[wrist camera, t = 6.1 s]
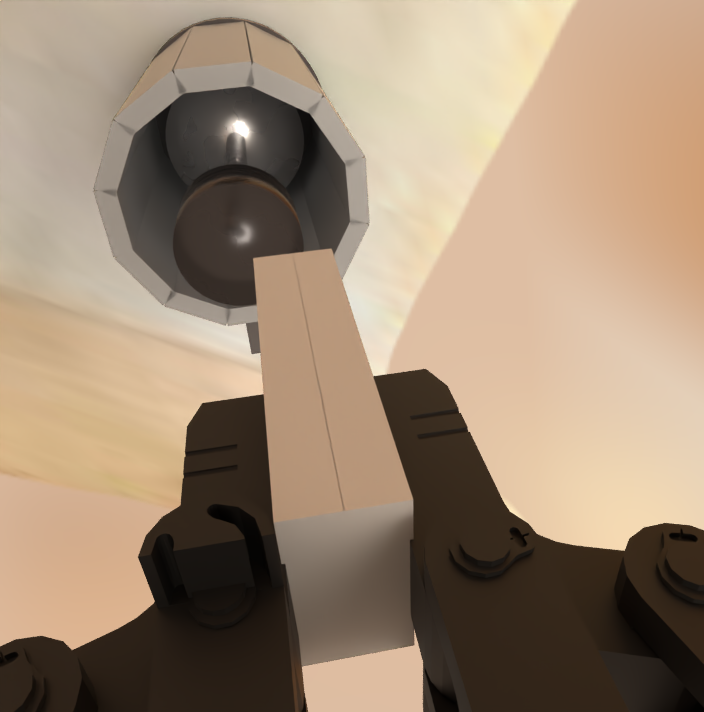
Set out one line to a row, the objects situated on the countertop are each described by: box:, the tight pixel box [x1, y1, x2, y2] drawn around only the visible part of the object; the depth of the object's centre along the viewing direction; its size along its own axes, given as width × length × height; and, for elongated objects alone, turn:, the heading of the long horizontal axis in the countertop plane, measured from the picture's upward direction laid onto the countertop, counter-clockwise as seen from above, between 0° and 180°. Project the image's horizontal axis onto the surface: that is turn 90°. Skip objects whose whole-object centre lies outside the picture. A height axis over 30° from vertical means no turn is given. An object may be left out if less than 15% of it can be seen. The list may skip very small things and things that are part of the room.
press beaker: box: [94, 18, 369, 354], centre depth 32 cm, size 13×11×15 cm
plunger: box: [166, 86, 304, 306], centre depth 28 cm, size 7×7×15 cm
